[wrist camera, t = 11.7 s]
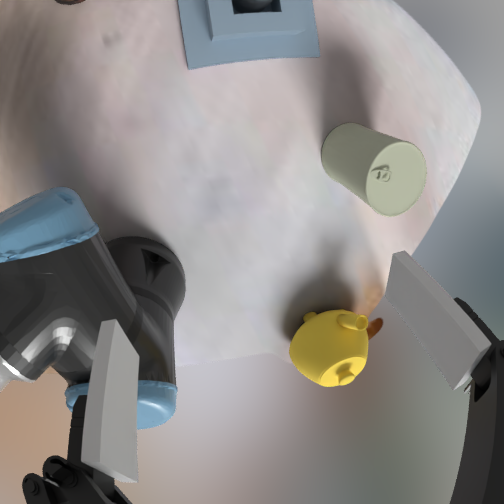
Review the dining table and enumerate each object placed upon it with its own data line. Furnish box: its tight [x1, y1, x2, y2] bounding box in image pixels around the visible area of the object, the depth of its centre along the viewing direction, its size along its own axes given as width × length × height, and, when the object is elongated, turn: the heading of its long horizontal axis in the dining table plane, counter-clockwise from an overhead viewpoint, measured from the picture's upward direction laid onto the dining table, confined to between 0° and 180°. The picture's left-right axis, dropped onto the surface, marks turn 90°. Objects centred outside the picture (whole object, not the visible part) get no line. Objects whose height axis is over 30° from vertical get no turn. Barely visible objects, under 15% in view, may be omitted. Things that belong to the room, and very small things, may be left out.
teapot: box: [289, 309, 368, 387], centre depth 49 cm, size 20×16×14 cm
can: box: [321, 123, 427, 217], centre depth 33 cm, size 9×9×12 cm
